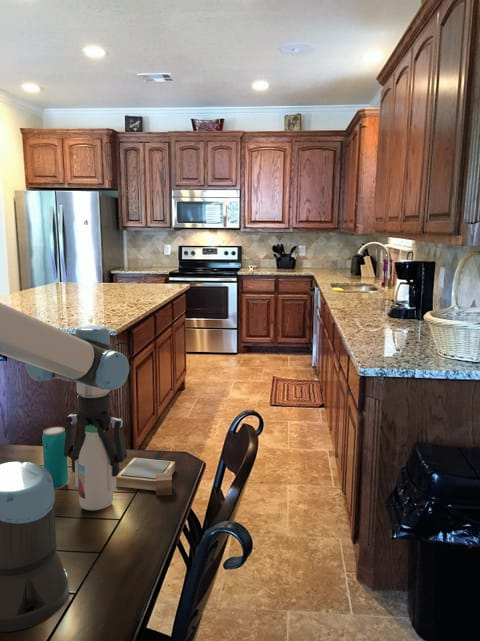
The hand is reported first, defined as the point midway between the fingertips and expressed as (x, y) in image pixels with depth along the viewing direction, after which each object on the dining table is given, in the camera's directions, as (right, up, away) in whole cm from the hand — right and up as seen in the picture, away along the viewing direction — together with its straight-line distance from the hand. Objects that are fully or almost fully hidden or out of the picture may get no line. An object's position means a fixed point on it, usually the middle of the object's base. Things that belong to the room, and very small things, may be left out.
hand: (96, 486), depth 118 cm
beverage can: (-13, -4, +11) cm, 17 cm away
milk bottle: (0, -4, +1) cm, 4 cm away
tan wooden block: (+15, -4, +8) cm, 17 cm away
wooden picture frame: (+9, -3, +16) cm, 18 cm away
